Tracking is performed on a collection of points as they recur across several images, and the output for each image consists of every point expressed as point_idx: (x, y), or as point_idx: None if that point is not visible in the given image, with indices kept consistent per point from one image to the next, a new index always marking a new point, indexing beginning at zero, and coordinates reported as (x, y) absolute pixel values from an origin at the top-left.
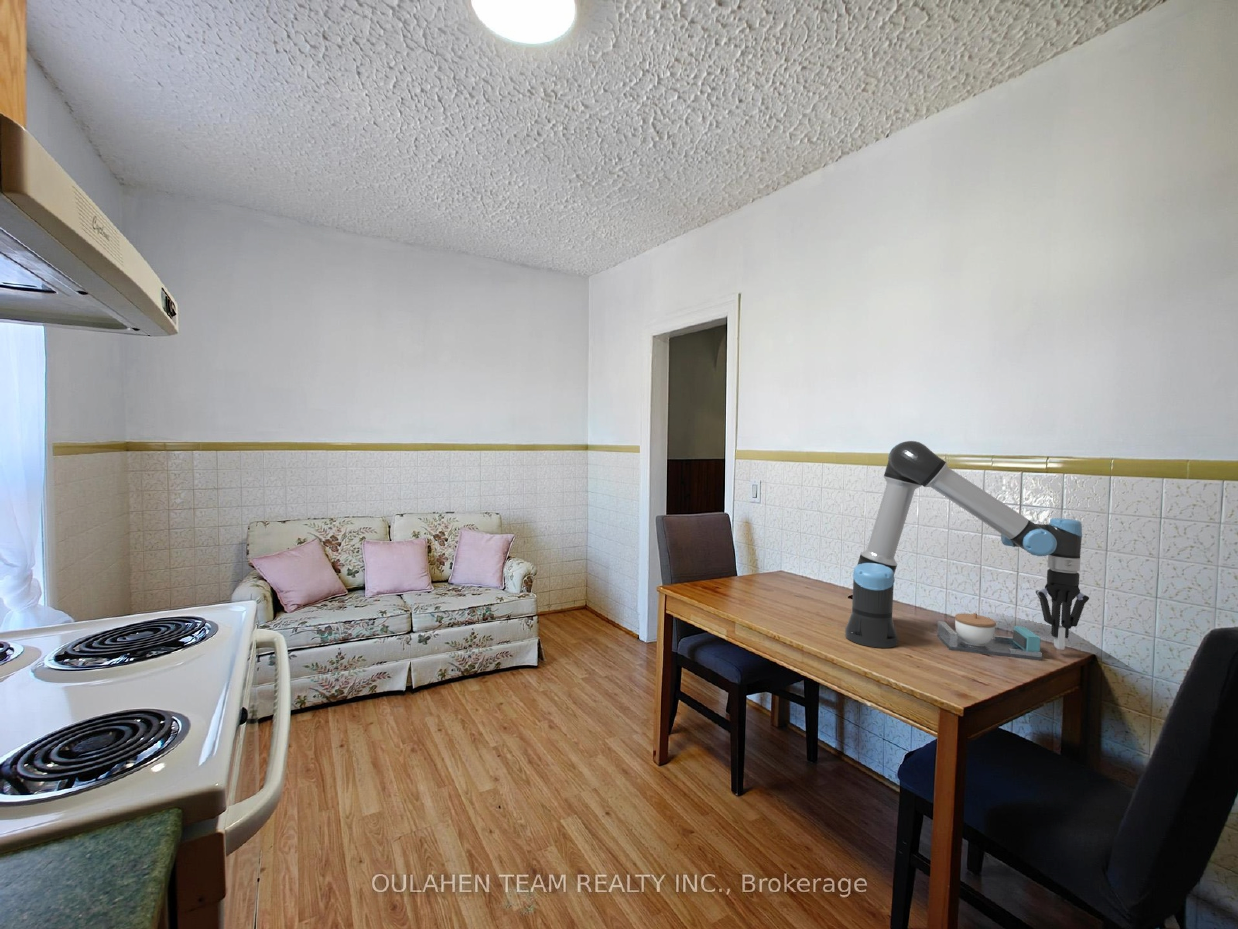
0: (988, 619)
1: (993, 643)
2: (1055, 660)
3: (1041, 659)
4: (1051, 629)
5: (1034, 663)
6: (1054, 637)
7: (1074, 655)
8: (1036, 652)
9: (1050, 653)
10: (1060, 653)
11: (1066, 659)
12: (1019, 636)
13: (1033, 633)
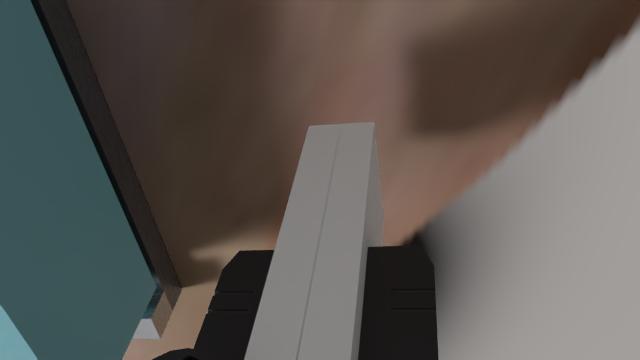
0: None
1: None
2: None
3: (177, 296)
4: (200, 331)
5: (134, 344)
6: (288, 201)
7: (562, 20)
8: None
9: (295, 70)
10: (412, 16)
11: (395, 192)
12: None
13: (10, 338)
